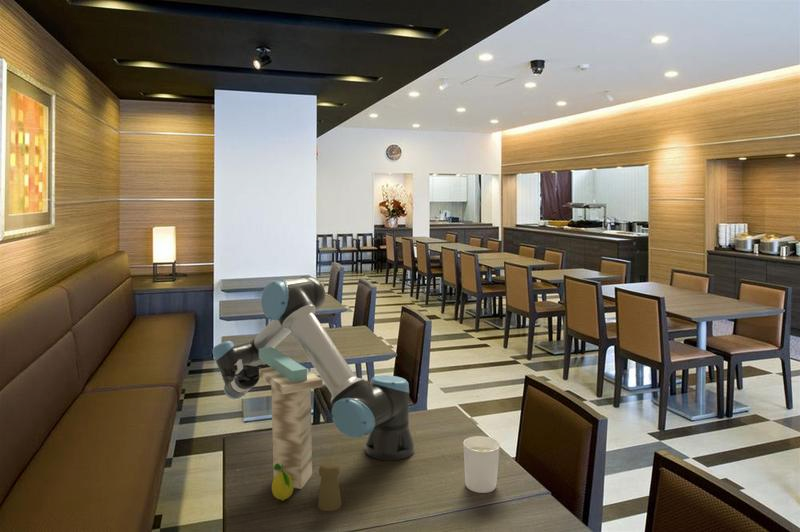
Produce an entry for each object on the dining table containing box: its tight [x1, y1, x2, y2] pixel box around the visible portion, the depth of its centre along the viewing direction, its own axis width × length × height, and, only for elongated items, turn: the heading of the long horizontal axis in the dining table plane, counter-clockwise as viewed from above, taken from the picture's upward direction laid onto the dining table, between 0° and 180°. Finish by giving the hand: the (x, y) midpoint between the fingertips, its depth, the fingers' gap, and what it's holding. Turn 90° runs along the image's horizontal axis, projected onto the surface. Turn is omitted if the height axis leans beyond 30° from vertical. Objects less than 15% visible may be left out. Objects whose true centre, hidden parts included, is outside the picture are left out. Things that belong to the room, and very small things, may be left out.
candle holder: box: [462, 435, 501, 494], centre depth 154 cm, size 10×10×12 cm
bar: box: [259, 347, 308, 382], centre depth 159 cm, size 26×4×3 cm, turn 33°
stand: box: [259, 367, 324, 490], centre depth 156 cm, size 11×18×30 cm, turn 33°
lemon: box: [271, 463, 294, 502], centre depth 146 cm, size 7×6×10 cm
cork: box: [317, 460, 342, 512], centre depth 144 cm, size 6×6×11 cm
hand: (263, 360), depth 170 cm, fingers open, 13 cm apart
